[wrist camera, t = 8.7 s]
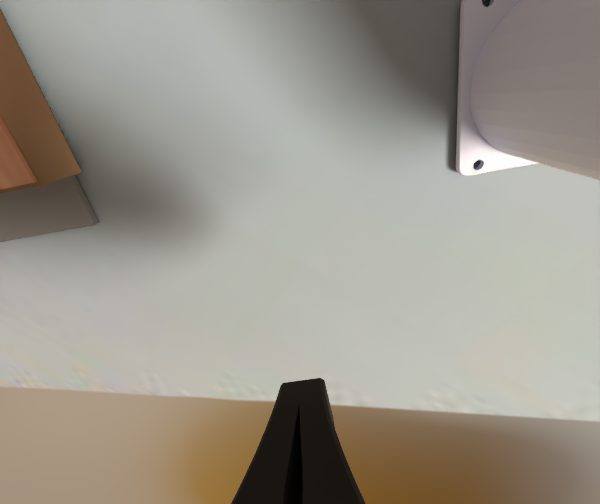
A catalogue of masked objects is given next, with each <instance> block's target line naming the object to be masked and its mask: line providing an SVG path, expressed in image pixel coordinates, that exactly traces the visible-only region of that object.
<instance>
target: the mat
mask: <svg viewBox="0 0 600 504" xmlns="http://www.w3.org/2000/svg"><path fill="white" fill-rule="evenodd" d="M97 223H99V221H98V219H97V217H96V215H95V213H94V212H93V210H92V208H91V206H90V204H89V202H88V200H87V198H86V196H85V194H84V192H83V190H82V188H81V186H80V184H79V182H78V180H77V178H76V176H75V175H73V176H70V177H66V178H63V179H60V180H57V181H54V182H51V183H48V184H44V185H41V186H36V187H31V188H26V189H21V190H16V191H12V192H7V193H2V194H0V242H3V241H8V240H14V239H19V238H25V237H30V236H36V235H41V234H47V233H52V232H58V231H63V230H69V229H74V228H79V227H85V226H90V225H95V224H97Z"/></svg>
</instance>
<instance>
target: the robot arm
mask: <svg viewBox="0 0 600 504" xmlns="http://www.w3.org/2000/svg"><path fill="white" fill-rule="evenodd" d="M477 160H480V165H479V166H478V167H477V168H475V169H474V168H473V165H474V163H475V162H476V161H477ZM539 163H540V164H543V165H547V166H550V167H554V168H558V169H561V170H565V171H568V172H572V173H575V174H579V175H583V176H586V177H590V178H593V179H597V180H600V0H490V3H489V5H488V7H485V6H484V5H483V4H482V0H462V2H461V7H460V40H459V74H458V109H457V143H456V171H457V172H458V173H459V174H461V175H463V176H471V175H476V174H482V173H488V172H493V171H499V170H505V169H510V168H516V167H522V166H527V165H533V164H539ZM231 504H365V502H364V500H363V497H362V495H361V493H360V491H359V488H358V486H357V484H356V482H355V479H354V477H353V475H352V472H351V470H350V467H349V465H348V463H347V460H346V458H345V456H344V453H343V450H342V447H341V445H340V442H339V439H338V436H337V434H336V431H335V427H334V421H333V415H332V411H331V407H330V403H329V398H328V394H327V390H326V386H325V382H324V380H323V379H321V378H317V379H310V380H302V381H295V382H288V383H283V384H282V385H281V387H280V390H279V393H278V397H277V400H276V403H275V405H274V408H273V411H272V414H271V417H270V419H269V422H268V424H267V427H266V429H265V432H264V434H263V436H262V439H261V442H260V444H259V446H258V449H257V451H256V453H255V455H254V458H253V460H252V462H251V464H250V466H249V468H248V470H247V473H246V475H245V477H244V479H243V481H242V483H241V485H240V487H239V489H238V492H237V493H236V495H235V497H234V499H233V501H232V503H231Z"/></svg>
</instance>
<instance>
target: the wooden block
mask: <svg viewBox="0 0 600 504" xmlns="http://www.w3.org/2000/svg"><path fill="white" fill-rule="evenodd" d="M79 173H82V171H81V169H80V167H79V165H78V163H77V161H76V159H75V157H74V155H73V153H72V151H71V149H70V147H69V145H68V143H67V141H66V140H65V138H64V136H63V134H62V132H61V130H60V128H59V126H58V124H57V122H56V120H55V118H54V116H53V114H52V112H51V110H50V108H49V106H48V104H47V102H46V100H45V98H44V96H43V94H42V92H41V90H40V88H39V86H38V84H37V82H36V80H35V78H34V76H33V74H32V72H31V70H30V68H29V66H28V64H27V62H26V60H25V58H24V56H23V54H22V52H21V50H20V48H19V46H18V44H17V42H16V40H15V38H14V36H13V34H12V32H11V30H10V28H9V26H8V24H7V22H6V20H5V18H4V16H3V14H2V12H1V10H0V194H2V193H7V192H12V191H16V190H21V189H26V188H31V187H36V186H41V185H44V184H48V183H51V182H54V181H57V180H60V179H63V178H66V177H70V176H73V175H76V174H79Z"/></svg>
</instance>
